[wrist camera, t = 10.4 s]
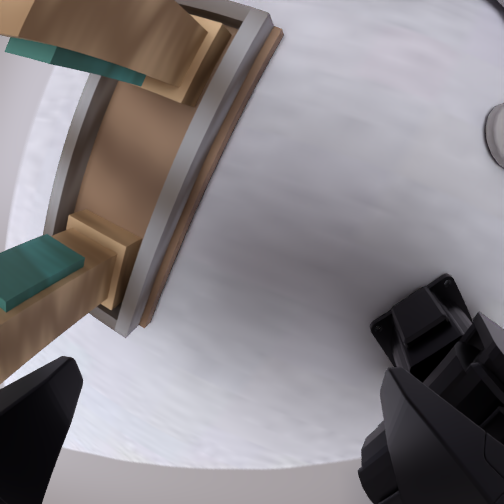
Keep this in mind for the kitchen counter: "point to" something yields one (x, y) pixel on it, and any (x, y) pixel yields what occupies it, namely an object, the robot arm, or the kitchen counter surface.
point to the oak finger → (60, 283)
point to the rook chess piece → (496, 133)
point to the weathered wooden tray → (144, 115)
